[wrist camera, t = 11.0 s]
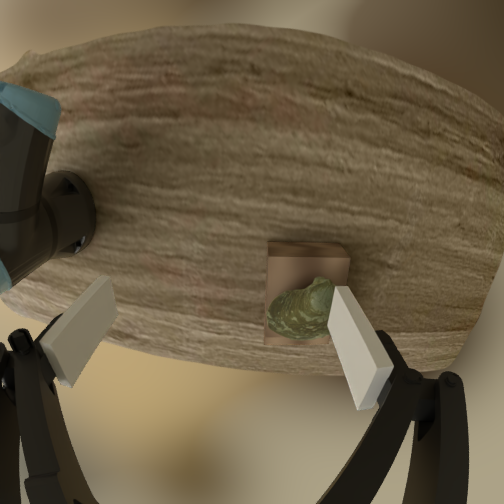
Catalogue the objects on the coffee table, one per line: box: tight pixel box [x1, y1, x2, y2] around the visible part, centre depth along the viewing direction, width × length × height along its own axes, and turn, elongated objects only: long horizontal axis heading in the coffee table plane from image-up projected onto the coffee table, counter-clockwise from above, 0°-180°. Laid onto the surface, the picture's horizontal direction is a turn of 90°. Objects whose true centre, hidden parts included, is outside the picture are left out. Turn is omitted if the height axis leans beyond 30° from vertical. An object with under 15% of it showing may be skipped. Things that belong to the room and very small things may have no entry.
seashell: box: [266, 277, 336, 341], centre depth 36 cm, size 10×7×10 cm
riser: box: [264, 242, 351, 345], centre depth 41 cm, size 11×17×6 cm, turn 179°
